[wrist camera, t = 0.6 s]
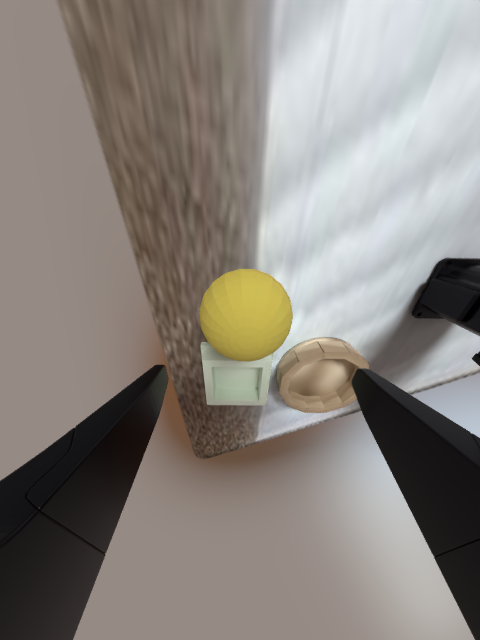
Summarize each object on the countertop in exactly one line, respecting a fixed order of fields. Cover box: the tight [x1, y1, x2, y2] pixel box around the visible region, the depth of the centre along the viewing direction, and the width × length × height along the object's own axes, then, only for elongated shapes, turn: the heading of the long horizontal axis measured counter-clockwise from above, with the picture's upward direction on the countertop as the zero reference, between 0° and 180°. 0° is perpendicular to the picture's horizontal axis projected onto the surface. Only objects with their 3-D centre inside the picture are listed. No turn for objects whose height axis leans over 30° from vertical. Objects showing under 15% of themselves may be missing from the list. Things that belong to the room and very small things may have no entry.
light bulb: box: [199, 269, 293, 362], centre depth 15 cm, size 7×7×10 cm
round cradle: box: [277, 337, 370, 413], centre depth 24 cm, size 11×11×3 cm
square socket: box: [201, 342, 273, 406], centre depth 24 cm, size 9×9×3 cm
